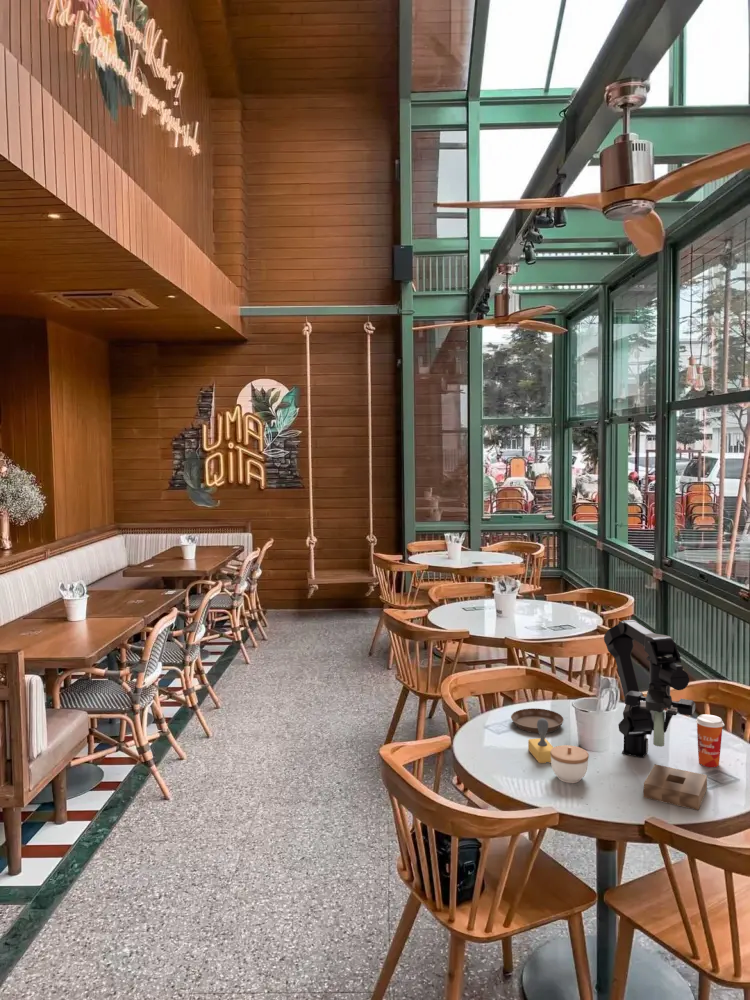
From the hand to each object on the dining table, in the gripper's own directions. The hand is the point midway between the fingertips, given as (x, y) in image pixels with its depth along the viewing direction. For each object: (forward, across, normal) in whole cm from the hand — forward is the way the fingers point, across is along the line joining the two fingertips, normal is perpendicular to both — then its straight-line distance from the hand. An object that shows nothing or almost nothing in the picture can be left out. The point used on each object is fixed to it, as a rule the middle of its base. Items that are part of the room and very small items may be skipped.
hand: (659, 731), depth 219 cm
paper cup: (+12, +12, +13) cm, 22 cm away
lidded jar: (+12, -21, -18) cm, 30 cm away
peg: (+4, 0, 0) cm, 4 cm away
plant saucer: (+12, -43, +16) cm, 48 cm away
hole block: (+12, +7, -12) cm, 18 cm away
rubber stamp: (+12, -33, -7) cm, 36 cm away
